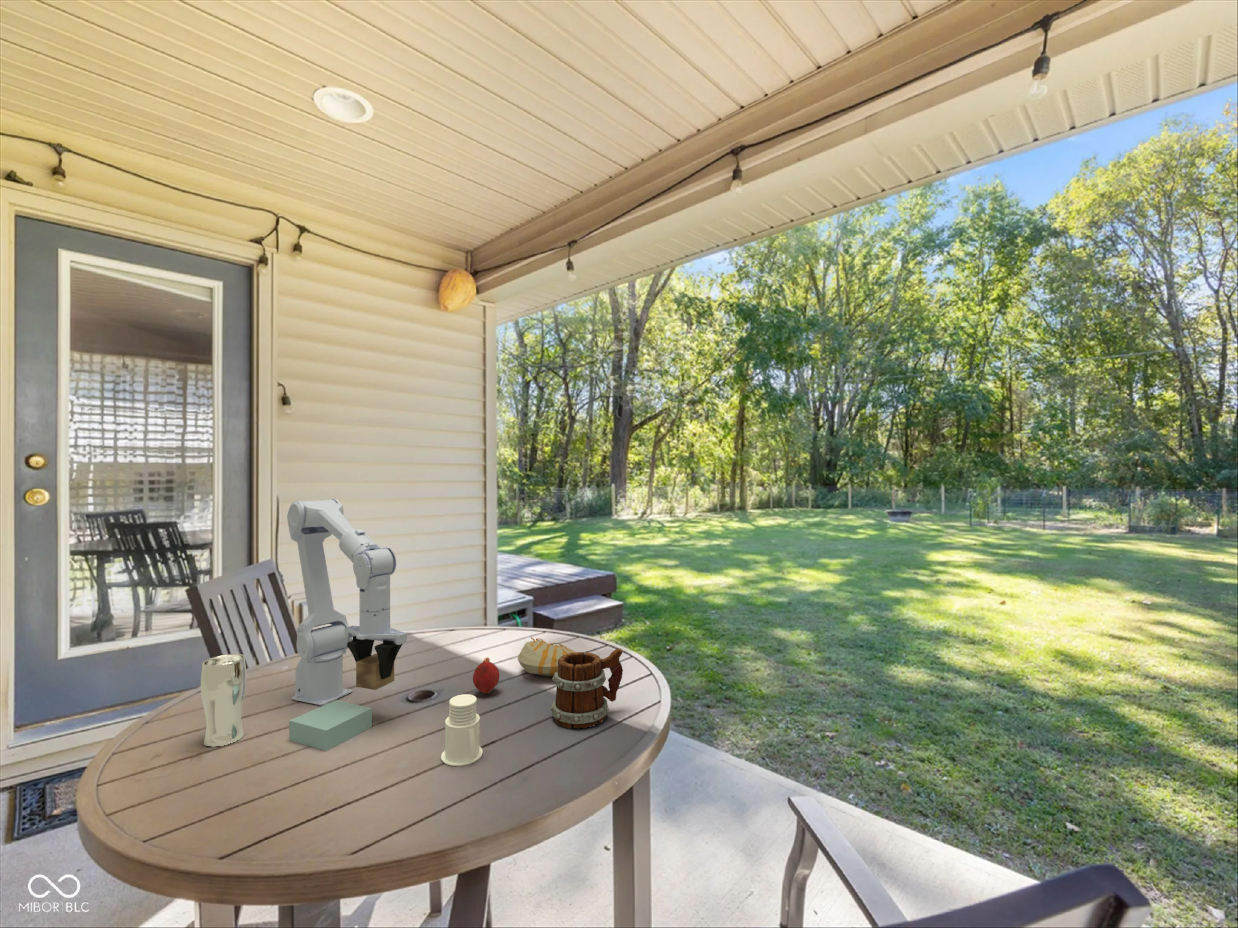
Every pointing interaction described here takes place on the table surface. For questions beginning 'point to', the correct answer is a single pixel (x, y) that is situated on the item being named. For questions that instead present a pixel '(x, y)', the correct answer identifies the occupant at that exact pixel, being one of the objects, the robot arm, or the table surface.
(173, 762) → the table surface
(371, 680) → the walnut block
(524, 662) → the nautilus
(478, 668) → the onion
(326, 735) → the riser block
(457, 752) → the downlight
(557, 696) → the mug
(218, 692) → the beer glass
